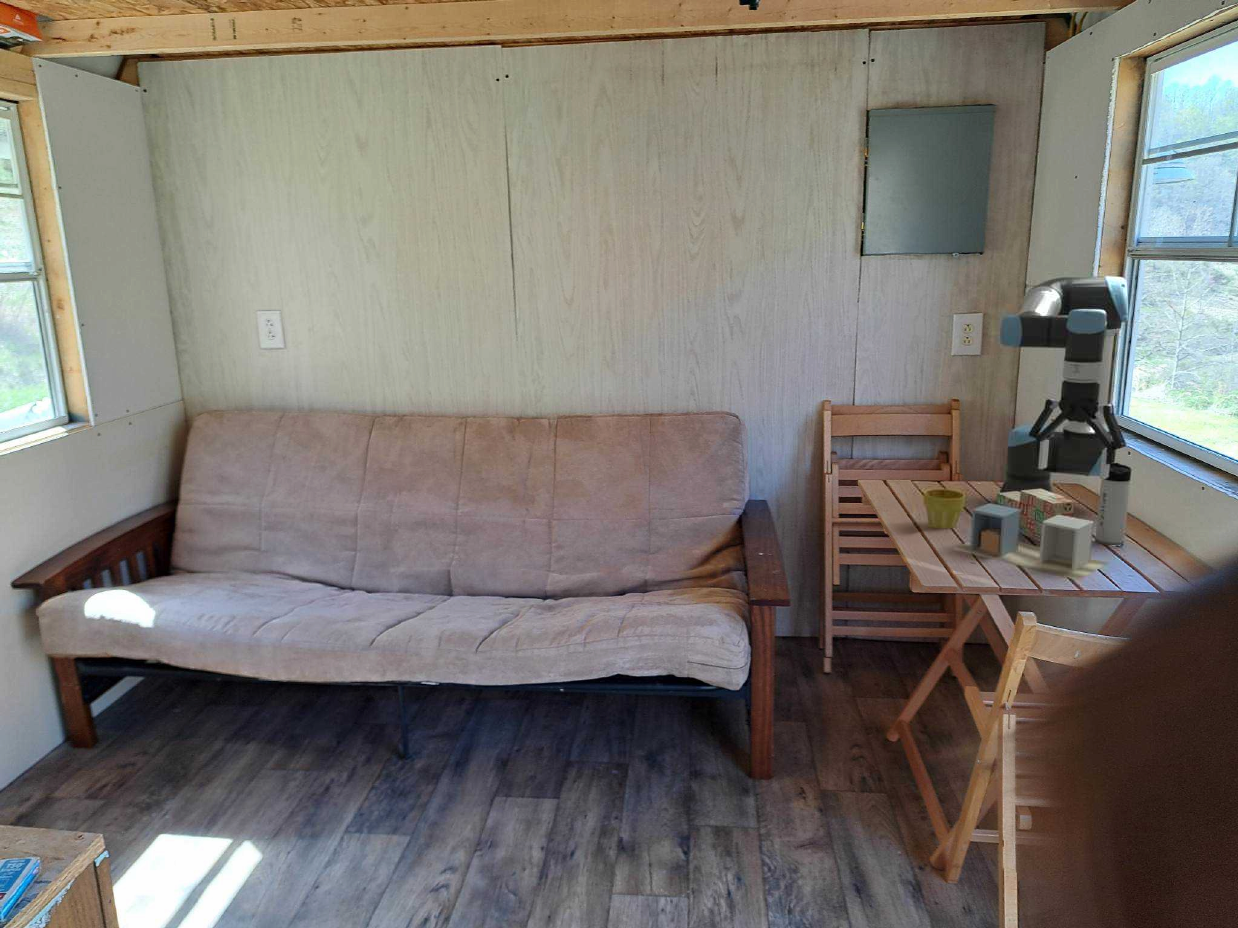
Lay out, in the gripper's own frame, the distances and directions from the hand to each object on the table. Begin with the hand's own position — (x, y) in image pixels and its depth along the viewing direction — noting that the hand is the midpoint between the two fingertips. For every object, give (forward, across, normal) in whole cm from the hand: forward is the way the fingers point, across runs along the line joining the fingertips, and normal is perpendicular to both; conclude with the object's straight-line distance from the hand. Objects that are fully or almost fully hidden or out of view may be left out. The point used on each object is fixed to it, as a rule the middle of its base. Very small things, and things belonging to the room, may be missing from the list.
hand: (1072, 473), depth 200 cm
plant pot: (+23, -35, +7) cm, 42 cm away
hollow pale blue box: (+22, -16, -2) cm, 27 cm away
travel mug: (+23, 0, +25) cm, 34 cm away
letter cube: (+22, -16, -2) cm, 27 cm away
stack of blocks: (+23, -16, +17) cm, 33 cm away
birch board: (+22, -8, -1) cm, 24 cm away
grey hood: (+22, 0, 0) cm, 22 cm away
